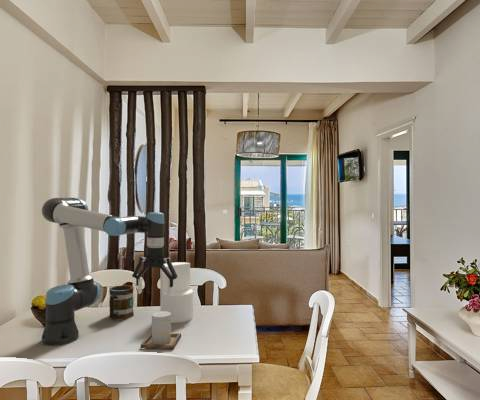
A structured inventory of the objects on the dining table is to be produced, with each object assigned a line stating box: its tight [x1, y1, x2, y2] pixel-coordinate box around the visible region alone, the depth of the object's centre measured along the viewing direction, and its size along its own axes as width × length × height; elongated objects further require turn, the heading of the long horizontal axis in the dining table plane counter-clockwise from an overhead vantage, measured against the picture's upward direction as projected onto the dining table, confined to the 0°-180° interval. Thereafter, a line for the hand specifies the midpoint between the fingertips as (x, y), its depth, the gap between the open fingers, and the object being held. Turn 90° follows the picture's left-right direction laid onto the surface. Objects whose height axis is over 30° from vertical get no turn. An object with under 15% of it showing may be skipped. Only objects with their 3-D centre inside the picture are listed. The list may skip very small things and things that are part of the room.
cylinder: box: [159, 261, 194, 324], centre depth 195 cm, size 17×17×28 cm
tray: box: [140, 332, 182, 351], centre depth 160 cm, size 14×14×2 cm
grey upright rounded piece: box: [151, 311, 172, 344], centre depth 160 cm, size 8×8×12 cm
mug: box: [108, 284, 135, 321], centre depth 195 cm, size 20×14×15 cm
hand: (154, 293), depth 164 cm, fingers open, 13 cm apart
